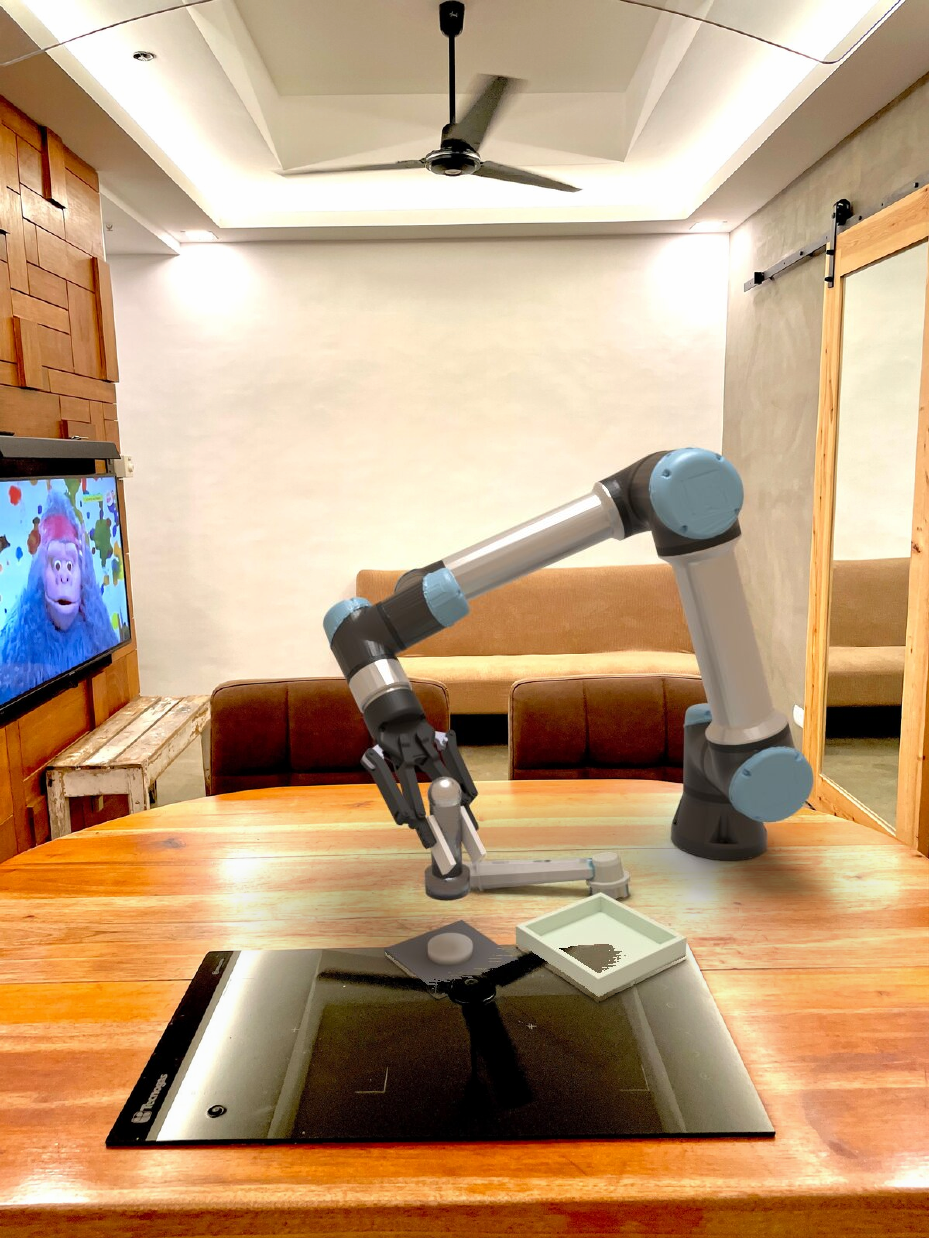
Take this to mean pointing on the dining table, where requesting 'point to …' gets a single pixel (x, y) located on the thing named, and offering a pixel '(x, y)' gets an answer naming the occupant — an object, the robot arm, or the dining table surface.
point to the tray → (602, 941)
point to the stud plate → (448, 953)
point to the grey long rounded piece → (554, 873)
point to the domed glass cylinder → (448, 817)
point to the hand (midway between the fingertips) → (464, 863)
